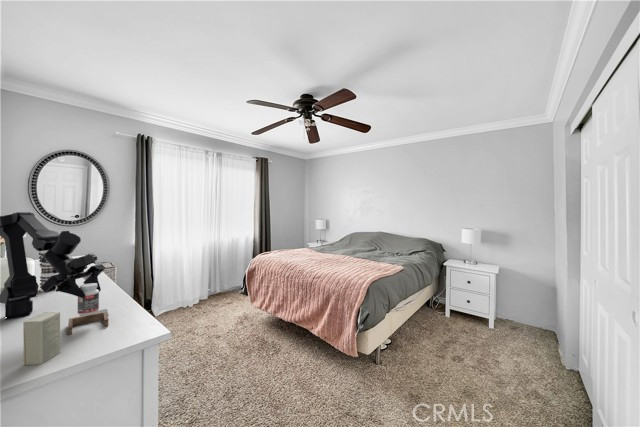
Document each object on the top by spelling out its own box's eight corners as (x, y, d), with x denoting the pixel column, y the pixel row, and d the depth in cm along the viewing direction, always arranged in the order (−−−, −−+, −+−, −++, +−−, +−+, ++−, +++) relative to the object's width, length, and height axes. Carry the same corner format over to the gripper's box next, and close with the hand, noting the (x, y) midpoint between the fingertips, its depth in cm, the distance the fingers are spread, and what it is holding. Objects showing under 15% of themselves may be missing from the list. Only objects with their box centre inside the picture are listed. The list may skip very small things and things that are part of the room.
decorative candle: (51, 291, 129) (51, 242, 128) (33, 291, 129) (32, 241, 129) (69, 286, 138) (69, 239, 138) (52, 285, 138) (52, 239, 138)
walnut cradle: (67, 335, 86) (67, 327, 86) (68, 325, 93) (68, 318, 93) (108, 325, 93) (108, 319, 93) (106, 317, 100) (106, 311, 100)
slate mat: (81, 321, 96) (81, 320, 96) (81, 314, 102) (81, 313, 102) (108, 315, 102) (108, 314, 102) (107, 309, 108) (107, 308, 108)
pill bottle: (85, 316, 89) (86, 287, 89) (73, 314, 90) (73, 286, 90) (102, 309, 95) (103, 283, 95) (90, 308, 96) (90, 281, 96)
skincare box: (45, 352, 76) (44, 312, 75) (61, 352, 76) (61, 311, 76) (22, 365, 69) (22, 321, 69) (40, 365, 70) (39, 321, 70)
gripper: (50, 251, 83) (82, 286, 83) (101, 243, 102) (128, 272, 102) (26, 275, 83) (59, 310, 83) (81, 262, 102) (108, 291, 102)
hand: (92, 294), depth 93 cm, fingers closed on pill bottle, 6 cm apart
